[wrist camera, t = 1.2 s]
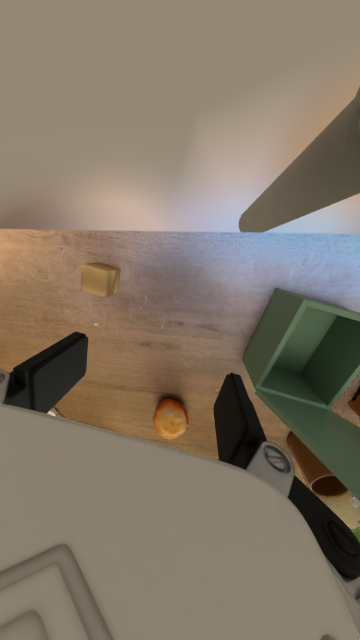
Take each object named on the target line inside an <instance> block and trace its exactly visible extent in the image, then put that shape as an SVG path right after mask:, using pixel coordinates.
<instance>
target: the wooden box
mask: <svg viewBox="0 0 360 640" xmlns="http://www.w3.org/2000/svg"><path fill="white" fill-rule="evenodd" d="M349 405H350V408H351V409H352V410H353V411H354V412H355V413H356V414H357V415H358V416H359V417H360V394H359V395H358V397H357V398H356V400H355V401H353V400H351V401H350V402H349Z"/></svg>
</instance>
